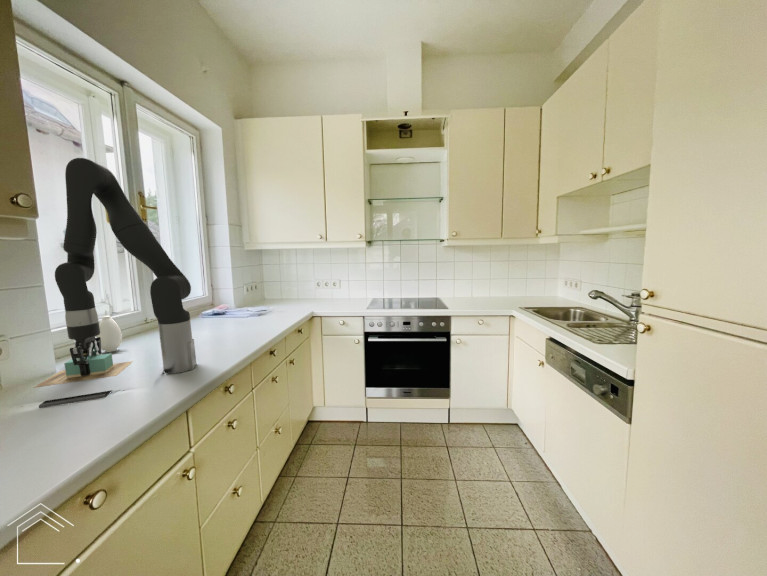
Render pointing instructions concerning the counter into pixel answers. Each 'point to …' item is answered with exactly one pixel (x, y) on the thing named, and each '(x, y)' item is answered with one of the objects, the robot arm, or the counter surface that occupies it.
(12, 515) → the counter surface
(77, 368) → the block
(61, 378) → the board
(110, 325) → the white vase
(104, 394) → the rubber mat
